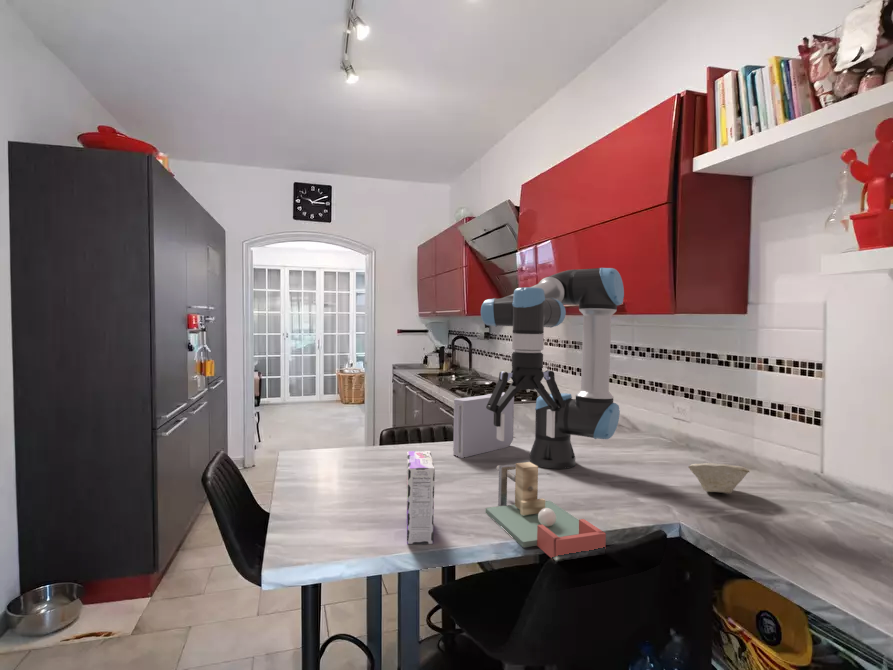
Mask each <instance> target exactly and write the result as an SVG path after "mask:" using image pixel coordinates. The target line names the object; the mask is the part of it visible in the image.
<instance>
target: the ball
mask: <svg viewBox="0 0 893 670" xmlns="http://www.w3.org/2000/svg"><path fill="white" fill-rule="evenodd" d="M538 520H539V522H540V523H541V524H543V525H544V526H546V527H550V526H552V525H553V524H554V523H555V521H556V515H555V513H554V511H553V510H552V509H550V508H543V509H542V510H540V512H539V514H538Z"/></svg>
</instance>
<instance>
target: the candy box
mask: <svg viewBox="0 0 893 670" xmlns="http://www.w3.org/2000/svg"><path fill="white" fill-rule="evenodd" d="M435 469H436V468H435V466H434V459H433V456H432V452H431V450H417V451H416V450H414V451H413V450H410V451H409V450H408V451H407V452H406V491H407V492H406V544H407V545H433V544H434V515H435V514H434V511H435V508H434V505H435V504H434V503H435V479H436V477H435V475H436V474H435V473H436V471H435Z"/></svg>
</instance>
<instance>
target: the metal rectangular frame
mask: <svg viewBox="0 0 893 670" xmlns="http://www.w3.org/2000/svg"><path fill="white" fill-rule="evenodd" d="M507 470H508V471H510V470H516V463H514V464H504V465H503V464H502V465H500V466H499V471H498V501H497V502H498V506H507V505H508V501H507V500H508V477H507Z"/></svg>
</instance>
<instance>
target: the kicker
mask: <svg viewBox="0 0 893 670" xmlns="http://www.w3.org/2000/svg"><path fill="white" fill-rule="evenodd" d="M515 464H516V469H515V474H514V473H512V472H511V471H510V470H507V479H510V480H511V481H513V482H515V484H514V486H515V488H514V489H515V490H514V505H515V506H516V507H517V508H518V509H520V514H522V515H529V514H538V513H539V512H540V510H542V509H543V508H545V501H546V499H544V498H539V497H538V495H539V494H538V490H539V489H538V488H539V486H538V485H539V483H538V482H539V466H536V465H534V464H533V463H531V462H530V461H527V462H525V461H524V462H517V463H515ZM499 466H501V465H497V466H496V470H497V471H498V472H499Z"/></svg>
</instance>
